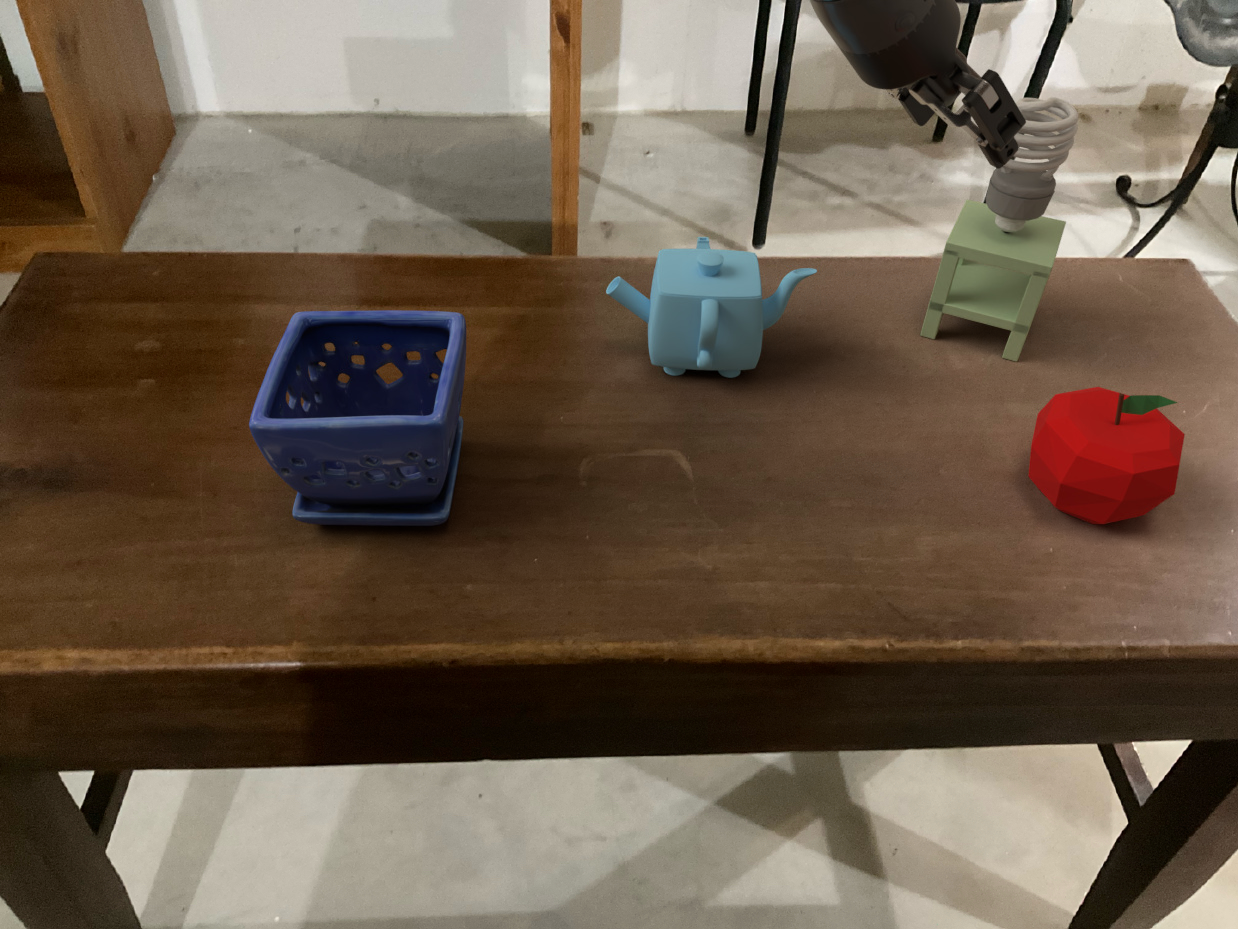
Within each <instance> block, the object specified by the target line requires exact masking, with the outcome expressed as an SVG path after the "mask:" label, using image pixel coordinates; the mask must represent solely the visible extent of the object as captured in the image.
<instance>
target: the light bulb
mask: <svg viewBox="0 0 1238 929" xmlns="http://www.w3.org/2000/svg"><path fill="white" fill-rule="evenodd" d="M1015 103H1016V105H1017V107H1018V108H1019V110H1020V112H1021V113H1022V115H1023V117H1024V119H1025V120H1026V124H1025V125H1024V126H1023V127H1022V128H1021V129H1020V130H1019V131H1018V133H1017V134H1016V135H1015V136H1014V138H1015V140H1016V142H1017V144H1018V151H1017V152H1016V153H1015V154H1014V155H1013V157H1014V158H1017V159H1023V160H1031V161H1032V160H1034V161H1036V160H1037V161H1039V160H1041V162H1025V161H1018V160H1014V159H1012V158H1011V159H1010V160H1009V161H1008V162H1007V163H1006V164H1005V165H1003V167H1001V168H1000V169H997V168H995V169H994V170H993V171H992V174H991V176H990V178H989V181H988V186H987V191H986V195H985V204H987V206H988V208H989V209H990V210H991V211H992V212H994V213H995V214H996V219H995V223H996V225H997V226H998V228H999V229H1001V230H1002V231H1003V232H1004V233H1012V232H1016V231H1018V230H1021V229H1022V228H1023V227H1024V224H1025V223H1026V221H1029V220H1033V219H1037V218H1039V217H1040V216H1044V214H1045V212H1046V210H1047V208H1048V206H1049V204H1050V202H1051V200H1052V198H1053V196H1054V194H1055V189H1056V187H1057V180H1056V178H1055V176H1054V175H1055V173H1056V172H1057V171H1058V170H1059V167H1060V166H1061V165H1063V164H1064V163H1065V162H1066V161H1067V159H1068V158H1069V155H1070V150H1071V149H1073V146H1074V144H1075V136H1076V134H1077V132H1078V129H1079V125H1078V120H1079V113H1078V111H1077V109H1076V108H1075V106H1073V105H1072V104H1071V103H1070V102H1069V101H1066V100H1065V99H1061V98H1058V97H1053V96H1052V97H1048V98H1047V99H1040V98H1035V97H1021V98H1019V99H1018V100H1017V101H1015ZM1043 111H1046V112H1047V113H1050V114H1052V115H1055V116H1057V117H1059V118H1060V120H1059V119H1057V118H1055V117H1053V116H1050V115H1047V114H1044V113H1041V112H1043ZM1055 132H1057V134H1056V133H1055ZM1052 146H1053V147H1052ZM1051 147H1052V148H1051ZM1042 160H1047V161H1044V162H1043V161H1042Z"/></svg>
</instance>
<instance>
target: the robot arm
mask: <svg viewBox="0 0 1238 929" xmlns="http://www.w3.org/2000/svg"><path fill="white" fill-rule="evenodd" d="M809 3H810V4H811V7H812V9H813V12H814V13H815V15H816V17H817V19H818V20H819V22H820V23H821V25H822V26H823V28H824V29H825V30H826V32H827V33H828V34H829V36H830V38H831V39H832V40H833V42H834V43H835V44H836V46H837V47H838V49H839V50H840V51H841V53H842V55H843V56H844V57H845V59H846V60H847V62H848V63H849V64H850V66H851V67H852V68H853V70H854V71H855V73H856V74H857V76H858V77H859V78H860V80H861V81H862V82H863V83H864V84H866V85H867V86H869V87H872V88H874V89H877V90H878V89H879V90H885V91H886V92H887V93H888V96H889V97H891V98H892V99H895V100H898V101H899V103H900V104H901V106H902V107H903V109H904V110H905V111H906V114H907V115H908V116H909V117H910V118H911V121H912V122H913V123H914V124H916V125H918V126H919V127H923V126H925V125H927V123H928V122H929V121H930V120H931V119H932V117H933V116H934V115H935V114H936V115H937V116H938V117H939V118H940V119H941V120H942V121H943V122H945V123H946V124H947V125H948V126H949V127H950V128H955V129H956V128H962V130H964V131H965V133H967V134H968V135H969V136H970V137H971V138H972V139H973V140H974V142H975V143H976V144H977V146H978V147H979V149H980V151H981V152H982V154H983V155H984V157H985V159H986V160H987V162H988V164H989V165H990V166H992V167H993V168H995V169H996V168H997V169H1000V168H1001V167H1003V165H1005V164H1006V163H1007V162H1008V161H1009V160H1010V159H1012V158H1013V157H1014V156H1013V155H1014V154H1015V153H1016V152H1017V151H1018V148H1019V147H1018V144H1017V142H1016V140H1015V138H1014V136H1015V135H1016V134H1017V133H1018V131H1019V130H1020V129H1021V128H1022V127H1023V126H1024V125H1025V124H1026V120H1025V119H1024V117H1023V115H1022V113H1021V112H1020V110H1019V108H1018V107H1017V105H1016V101H1015V100H1014V98H1013V96H1012V95H1011V93H1010V91H1009V89H1008V87H1007V86H1006V84H1005V82H1004V80H1003V79H1002V77H1001V76H1000V74H999V73H998V72H997V71H995V70H993V69H989V68H988V69H987V70H986V71H985V72H984V73H983V75H980V74H978V73H977V71H976V70H975V69H973V68H972V66H970V64H969V63H968V59H967V58H968V57H966V55H965V54H964V53H963V52H962V51H961V50H960V49H959V48H958V47H957V44H958V39H959V35H960V30H961V23H962V22H961V20H962V17H961V11H960V8H959V5H958V4H957V2H956V0H809ZM961 94H963V95H964V96H963V98H962V99H961V102H962V105H961V106H960V108H958V110H957V111H956V112H953V111H952V110H951V109H950V108H949V106H951V105H953V103H955V101H956V100H957V99H958V97H959V96H960V95H961ZM972 119H973V120H972ZM974 122H975V123H974Z"/></svg>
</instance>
